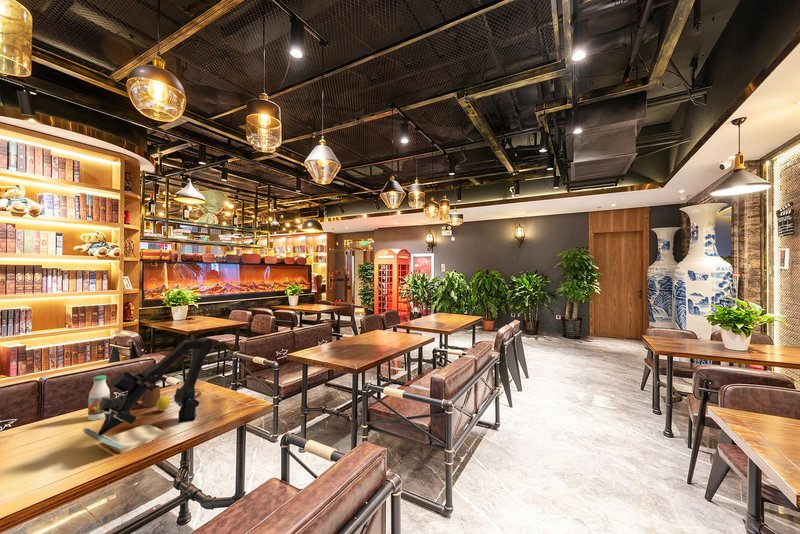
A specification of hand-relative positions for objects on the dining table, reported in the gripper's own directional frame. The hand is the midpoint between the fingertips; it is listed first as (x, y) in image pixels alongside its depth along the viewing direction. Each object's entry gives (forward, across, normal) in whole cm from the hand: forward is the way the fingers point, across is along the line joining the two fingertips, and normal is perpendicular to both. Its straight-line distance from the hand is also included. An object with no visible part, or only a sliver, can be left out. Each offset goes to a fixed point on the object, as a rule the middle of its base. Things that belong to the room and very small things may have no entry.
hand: (99, 434), depth 126 cm
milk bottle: (-3, -39, +15) cm, 42 cm away
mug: (-15, -34, +28) cm, 46 cm away
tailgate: (+1, 0, +7) cm, 7 cm away
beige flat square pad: (-3, 0, +14) cm, 14 cm away
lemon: (-16, -20, +28) cm, 38 cm away
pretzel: (-28, -28, +41) cm, 57 cm away
